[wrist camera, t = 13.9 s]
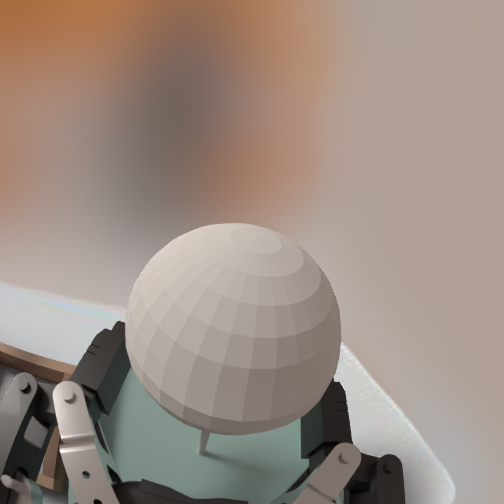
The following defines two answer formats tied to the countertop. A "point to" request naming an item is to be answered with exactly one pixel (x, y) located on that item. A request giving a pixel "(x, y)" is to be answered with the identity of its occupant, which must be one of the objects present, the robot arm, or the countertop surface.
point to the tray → (189, 461)
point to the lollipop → (233, 330)
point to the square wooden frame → (53, 461)
